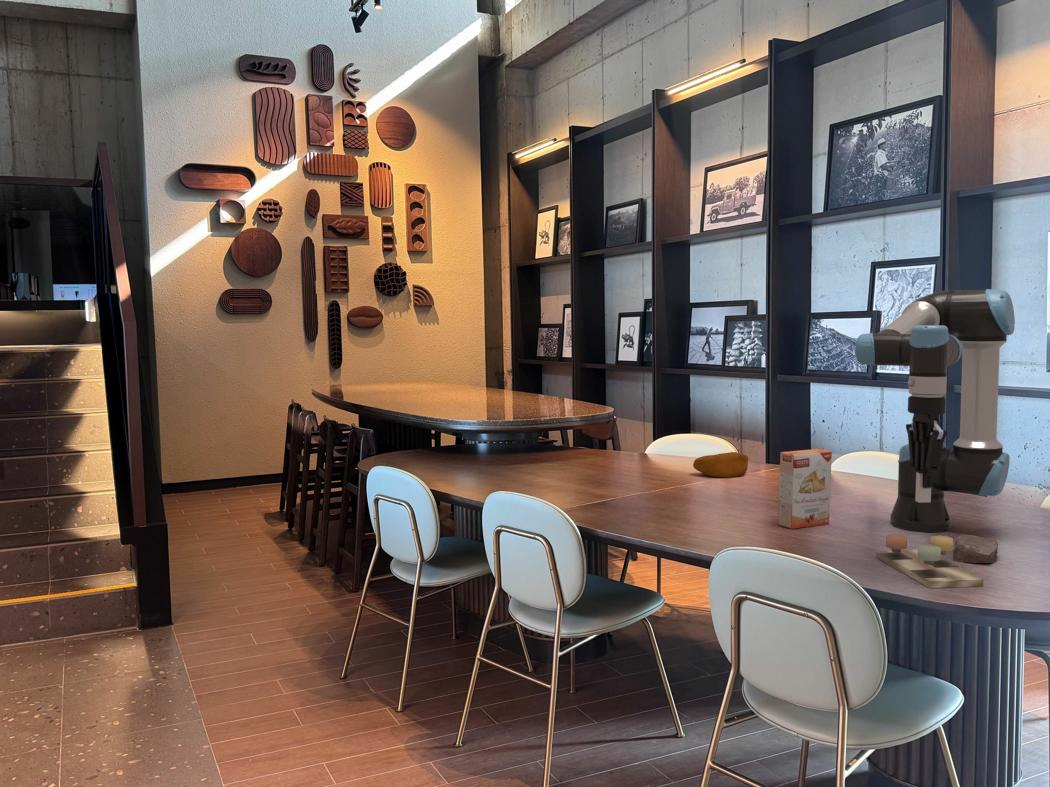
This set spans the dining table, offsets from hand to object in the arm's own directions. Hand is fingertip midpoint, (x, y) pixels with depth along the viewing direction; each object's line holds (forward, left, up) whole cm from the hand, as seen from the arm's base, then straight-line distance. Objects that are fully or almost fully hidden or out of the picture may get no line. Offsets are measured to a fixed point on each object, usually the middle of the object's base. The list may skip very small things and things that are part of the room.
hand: (922, 501), depth 191 cm
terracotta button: (-1, -12, -15) cm, 19 cm away
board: (-4, -5, -17) cm, 18 cm away
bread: (+6, -126, -18) cm, 127 cm away
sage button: (-1, +2, -13) cm, 14 cm away
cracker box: (+6, -50, -18) cm, 53 cm away
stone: (-22, -14, -18) cm, 31 cm away
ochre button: (-8, -5, -13) cm, 16 cm away
